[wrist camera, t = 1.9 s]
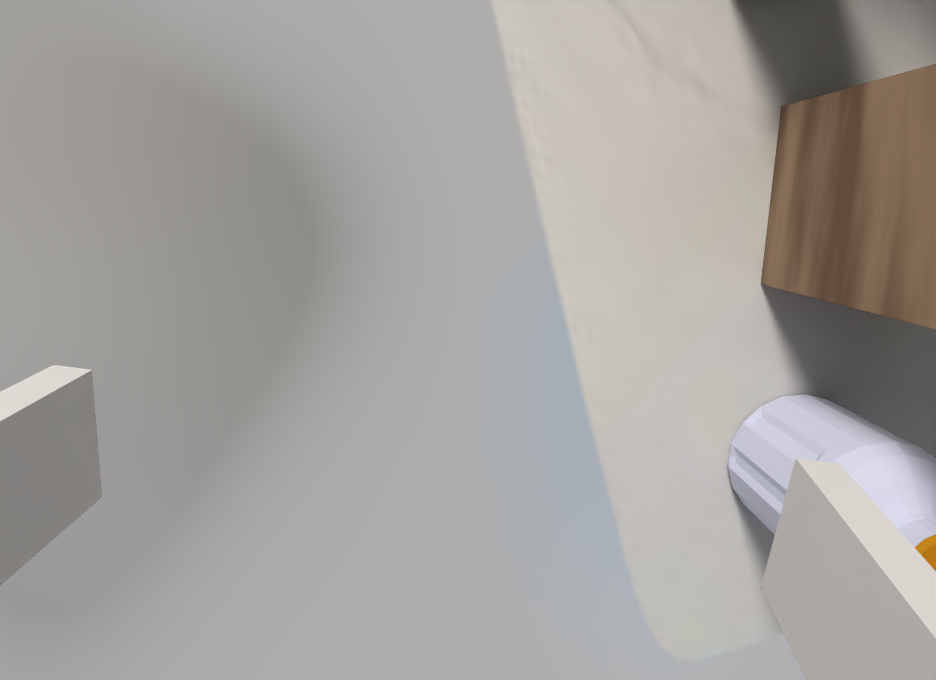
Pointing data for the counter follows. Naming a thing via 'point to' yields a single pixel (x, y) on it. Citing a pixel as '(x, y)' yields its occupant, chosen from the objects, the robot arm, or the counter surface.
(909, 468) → the soap bottle
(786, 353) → the counter surface
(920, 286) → the wooden block tower
